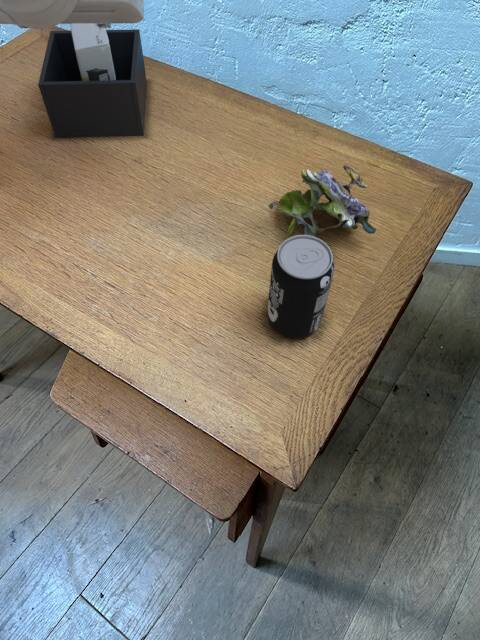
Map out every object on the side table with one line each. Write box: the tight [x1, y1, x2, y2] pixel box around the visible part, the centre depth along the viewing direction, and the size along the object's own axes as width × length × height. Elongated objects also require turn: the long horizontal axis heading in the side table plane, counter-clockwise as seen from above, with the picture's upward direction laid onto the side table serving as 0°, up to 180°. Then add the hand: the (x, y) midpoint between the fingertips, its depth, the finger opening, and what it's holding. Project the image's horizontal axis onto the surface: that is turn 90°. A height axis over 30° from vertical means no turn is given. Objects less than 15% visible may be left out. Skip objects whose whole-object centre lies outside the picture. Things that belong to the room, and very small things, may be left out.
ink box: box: [69, 23, 116, 81], centre depth 82 cm, size 9×5×12 cm, turn 15°
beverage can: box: [266, 234, 335, 340], centre depth 62 cm, size 7×7×12 cm
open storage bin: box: [37, 28, 148, 139], centre depth 84 cm, size 13×13×9 cm
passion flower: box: [268, 164, 377, 239], centre depth 71 cm, size 11×11×12 cm
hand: (65, 21), depth 67 cm, fingers open, 8 cm apart
